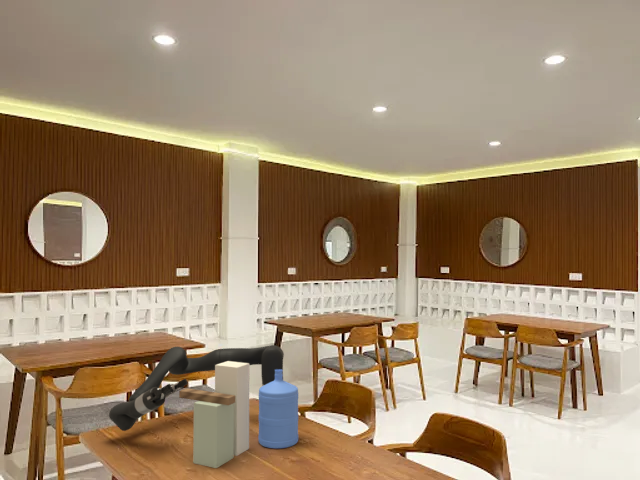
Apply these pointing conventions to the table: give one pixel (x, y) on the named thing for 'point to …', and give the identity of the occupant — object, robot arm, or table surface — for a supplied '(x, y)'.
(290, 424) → the water jug
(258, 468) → the table surface
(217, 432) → the sage step
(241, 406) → the off-white stand
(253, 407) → the table surface
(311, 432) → the table surface
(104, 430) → the table surface
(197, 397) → the walnut plank
